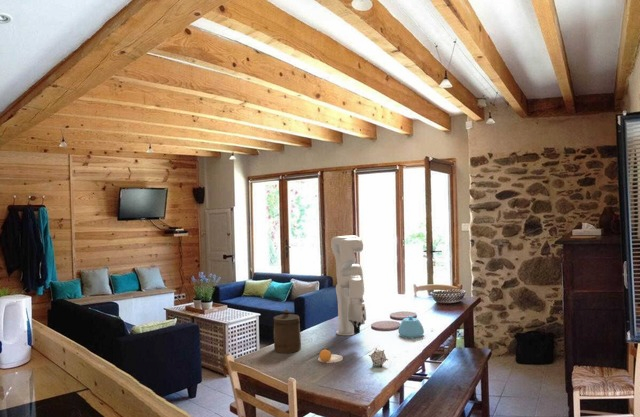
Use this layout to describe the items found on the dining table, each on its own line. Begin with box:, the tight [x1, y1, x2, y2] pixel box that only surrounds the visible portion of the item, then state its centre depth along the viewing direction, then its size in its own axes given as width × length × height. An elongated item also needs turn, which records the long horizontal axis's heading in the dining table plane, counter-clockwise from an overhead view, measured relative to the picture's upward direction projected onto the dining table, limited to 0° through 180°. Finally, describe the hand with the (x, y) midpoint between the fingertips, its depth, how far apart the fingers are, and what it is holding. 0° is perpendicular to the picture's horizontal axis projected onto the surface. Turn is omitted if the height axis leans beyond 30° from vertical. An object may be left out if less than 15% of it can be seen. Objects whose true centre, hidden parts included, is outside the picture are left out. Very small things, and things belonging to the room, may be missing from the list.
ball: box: [318, 349, 332, 363], centre depth 246 cm, size 6×6×6 cm
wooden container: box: [273, 309, 302, 354], centre depth 270 cm, size 15×15×22 cm
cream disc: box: [317, 353, 344, 364], centre depth 251 cm, size 13×13×1 cm
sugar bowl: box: [398, 315, 425, 339], centre depth 289 cm, size 15×15×12 cm
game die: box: [368, 348, 389, 368], centre depth 238 cm, size 9×8×10 cm
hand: (356, 333), depth 268 cm, fingers closed
